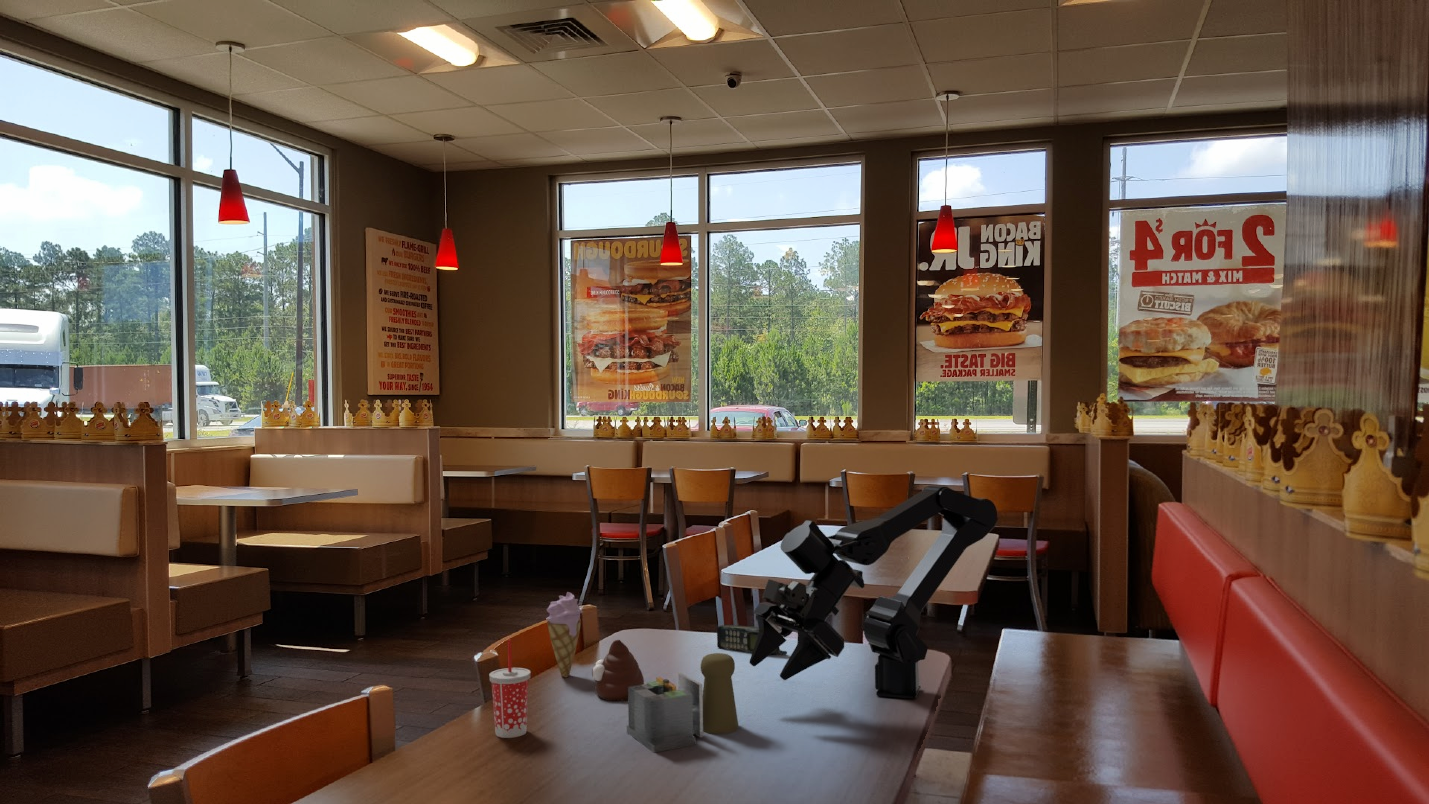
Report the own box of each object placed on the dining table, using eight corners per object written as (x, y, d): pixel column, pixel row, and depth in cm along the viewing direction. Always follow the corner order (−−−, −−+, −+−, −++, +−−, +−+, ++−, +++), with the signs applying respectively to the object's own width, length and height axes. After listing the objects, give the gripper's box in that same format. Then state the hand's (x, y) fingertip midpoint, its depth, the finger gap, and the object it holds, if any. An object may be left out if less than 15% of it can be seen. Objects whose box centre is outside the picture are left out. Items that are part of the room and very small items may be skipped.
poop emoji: (641, 701, 164) (640, 645, 164) (589, 702, 164) (588, 646, 164) (646, 684, 174) (645, 631, 174) (597, 685, 174) (596, 632, 174)
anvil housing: (666, 725, 151) (665, 678, 151) (695, 744, 142) (694, 694, 142) (626, 732, 148) (625, 684, 148) (654, 752, 139) (653, 701, 139)
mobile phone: (714, 625, 198) (780, 631, 190) (722, 622, 201) (787, 628, 193) (715, 650, 198) (781, 657, 190) (723, 647, 201) (788, 654, 193)
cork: (734, 734, 146) (733, 660, 146) (694, 732, 147) (693, 659, 147) (741, 721, 152) (740, 650, 152) (703, 720, 153) (702, 649, 153)
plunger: (682, 723, 151) (681, 670, 151) (703, 736, 145) (702, 681, 145) (655, 728, 149) (654, 674, 149) (675, 742, 143) (674, 686, 143)
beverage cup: (539, 728, 151) (537, 636, 151) (518, 741, 145) (516, 645, 145) (503, 724, 153) (502, 633, 153) (482, 737, 147) (480, 643, 147)
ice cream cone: (591, 674, 180) (590, 592, 180) (568, 683, 175) (567, 598, 175) (563, 669, 184) (562, 589, 184) (540, 678, 179) (539, 594, 179)
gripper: (762, 553, 165) (705, 628, 159) (825, 568, 148) (764, 653, 143) (803, 594, 168) (749, 669, 163) (869, 614, 152) (811, 698, 147)
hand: (766, 671), depth 154 cm, fingers open, 9 cm apart
